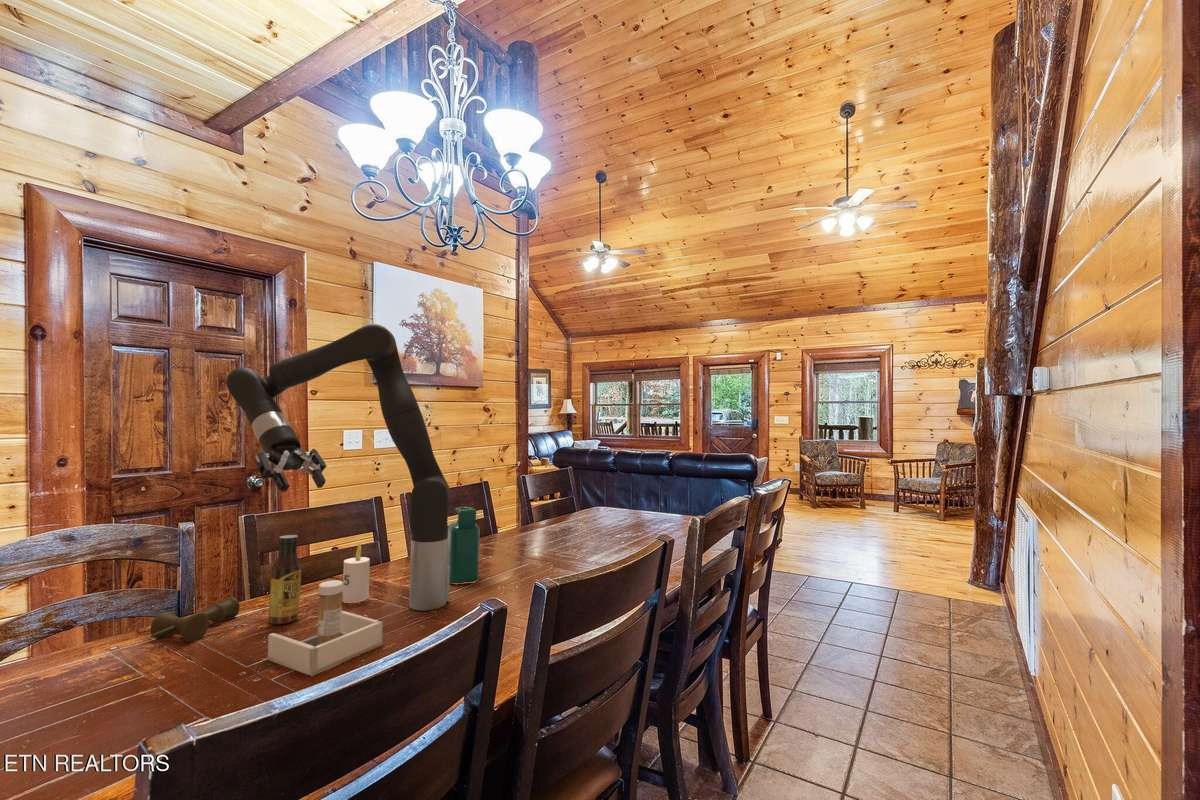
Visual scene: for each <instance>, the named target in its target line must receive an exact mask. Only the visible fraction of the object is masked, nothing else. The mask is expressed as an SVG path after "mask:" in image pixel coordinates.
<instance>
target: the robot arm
mask: <svg viewBox="0 0 1200 800" xmlns="http://www.w3.org/2000/svg"><path fill="white" fill-rule="evenodd" d="M363 360H366V361H367V363H368V365H369V368H370V369H371V372H372V374H373V376H374V378H375V381H376V385H377V390H378V400H379V404H380V410H381V413H382V417H383V419H384V423H385V425H386V428H387V432H388V433H389V435H390V437H391V440H392V442H393V444H394V445H395V447H396V449H397V450H398V452H399V453H400V455H401V456H402V458H403V460H404V462H405V464H406V466H407V468H408V471H409V474H410V478H411V481H412V485H413V488H412V490H411V493H410V503H409V505H410V507H409V511H410V512H409V514H410V516H409V517H410V518H409V527H410V529H409V530H410V534H411V535H410V563H409V566H410V567H409V590H408V591H409V593H408V595H409V597H408V598H409V599H408V600H409V601H408V602H409V603H408V607H409V608H410V609H411V608H412V610H415V611H433V610H436V609H440V607H441V608H442V606H443V607H444V606H445V605H446V604H447V603H448V602H449V601H450V599H449V597H450V583H449V573H450V566H449V565H447V547H448V527H449V525H448V523H449V522H448V521H449V520H448V515H449V514H448V512H449V511H448V510H449V508H448V507H449V504H448V503H449V498H450V495H451V494H450V492H451V489H450V486H449V484H448V482H447V480H446V478H445V476H444V474H443V473H442V471H441V468H440V466H439V464H438V462H437V459H436V457H435V454H434V451H433V448H432V444H431V440H430V435H429V431H428V429H427V426H426V423H425V419H424V416H423V415H422V414H423V413H422V411H421V408H420V405H419V403H418V402H417V399H416V396H415V394H414V392H413V390H412V387H411V385H410V383H409V382H408V380H407V377H406V375H405V372H404V369H403V366H402V362H401V359H400V355H399V349H398V346H397V341H396V338H395V336H394V335H393V333H392V332H391V331H390V330H389V329H388V328H386V327H385V326H384V325H382V324H378V323H367V324H365V325H363V326H361V327H359V328H358V329H355V330H353V331H352V332H350V333H348V334H347V335H345V336H343V337H340V338H339V339H337V340H334V341H332V342H330V343H327V344H325V345H321V346H319V347H316V348H313V349H311V350H308V351H305V352H301V353H298V354H296V355H292V356H289V357H287V358H284V359H280V360H278V361H276V362H273V363H272V364H271V365H269V367H268V370H269V372H268V373H269V375H268V376H266V377H265V376H264V377H262V376H261V375H260V374H259V373H257V372H256V371H255V370H253V369H252V368H249V367H237V368H235V369H233V370H232V371H230V372H229V373H228V375H227V376H226V379H225V381H226V382H225V383H226V388H227V390H228V393H230V395H231V397H232V398H233V399H234V401H235V402H236V403H237V405H238V406H239V407H240V408H241V409H242V411H243V413H244V414H245V416H246V418H247V420H248V422H249V424H250V427H251V428H252V430H253V433H254V436H255V438H256V440H257V442H258V443H259V446H260V447H261V450H262V451H261V450H260V451H258V453H257V455H256V456H255V457H254V459H253V462H254V463H255V465H256V468H257V470H258V472H259V475H260V477H261V478H262V479H264V480H265V479H267V478H268V479H271V480H272V481H273V482H274V484H275V486H276V487H277V489H278V490H279V491H280V492H281V493H285V492H287V491H288V490H289V488H290V483H289V482H288V479H287V478H286V476H285V475H284V473H282V471H283V470H284V471H290V470H294V471H297V470H298V471H300V472H302V473H307V474H308V475H310V476H311V478H312V480H313V482H314V484H315V485H316V487H317V488H318V489H320V488H323V487H324V485H325V484H326V478H325V476H324V475H323V472H324V471H325V469H326V468H327V464H326V463H325V460H324V459H323V458H322V457H321V456H322V455H320V453H319V452H318V450H317V449H316V448H312V449H311V450H310V451H305V450H304V449H303V448H302V447H301V441H300V439H299V437H298V435H297V433H296V432H295V431H294V428H293V427H292V425H291V423H290V421H289V420H288V419H287V417H286V416H285V415H284V413H283V411H282V409H281V408H280V405H278V403H277V402H276V400H274V398H275V397H277V396H279V395H280V394H282V393H283V392H284V391H286V390H287V389H290V388H292V387H296V386H298V385H301V384H304V383H306V382H309V381H312V380H314V379H317V378H319V377H320V376H323V375H325V374H326V373H328V372H330V371H332V370H334V369H336V368H339V367H341V366H344V365H346V364H350V363H355V362H359V361H363ZM304 462H305V463H306V464H305V465H304ZM270 463H271V464H273V465H274V468H272V466H271V464H270ZM311 468H312V469H311ZM447 601H448V602H447Z"/></svg>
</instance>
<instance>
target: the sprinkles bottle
mask: <svg viewBox="0 0 1200 800" xmlns="http://www.w3.org/2000/svg"><path fill="white" fill-rule="evenodd" d="M318 594H319V595H318V596H319V598H318V599H319V602H318V617H317V619H318V620H317V635H318V645H320V644H322V643H325V642H327V641H330V640H333V639H335V638H338V637H340V631H341V615H342V611H343V610H342V609H343V608H342V607H343V605H342V603H343V580H338V579H337V580H336V579H334V580H333V579H332V580H327V581H323V582H321V583H319V585H318Z"/></svg>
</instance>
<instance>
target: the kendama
mask: <svg viewBox="0 0 1200 800" xmlns="http://www.w3.org/2000/svg"><path fill="white" fill-rule="evenodd" d="M240 609H241V608H240V602H239V600H238V599H237V598H236V597H234V596H228V597H225V598H223V599H222V600H221V601H220V603H217V602H216V603H212V604H210V605H208V607H207V608H206V610H204V611H200V612H195V613H193V614H191V615H189V616H187V617H178V616H177V614H176V613H175V612H173V611H170V610H168V611H163V612H161V613H159V614H157V615H156V616H155V617H154V618H153V620H152V622H151V624H150V629H149V630H150V636H149V638H152V639H153V638H154V639H157V640H160V639H164V638H168V637H169V636H171V635H178V636H179V635H181V637H182V639H183V640H184V641H185V642H186V643H190V642H191V643H194V642H196V640H197V641H199V640H201V639H202V638H203V637H204V636H205V635H206V633H207V631H208V629H209V624H210V622H213V623H218V622H221V621H222V620H223V619H224V618H226V619H233V618H235V617H237V616H238V614H239V613H240ZM200 638H201V639H200ZM198 639H199V640H198ZM193 641H194V642H193Z"/></svg>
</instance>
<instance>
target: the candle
mask: <svg viewBox="0 0 1200 800" xmlns="http://www.w3.org/2000/svg"><path fill="white" fill-rule="evenodd" d="M370 563H371V561H370V558H369V557H366V556H362V544H361V542H359V543H358V545H357V548H356V553H355V557H350V558H347V559H344V560H343V573H342V574H343V575H342V576H343V577H342V578H343V580H342V582H343V591H342V603H343V602H344V603H343V604H345V603H356V602H361V601H364V600H366V599H368V597H369V596H370V594H369V592H370V591H369V590H370V567H371V566H370ZM368 600H369V599H368Z"/></svg>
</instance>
